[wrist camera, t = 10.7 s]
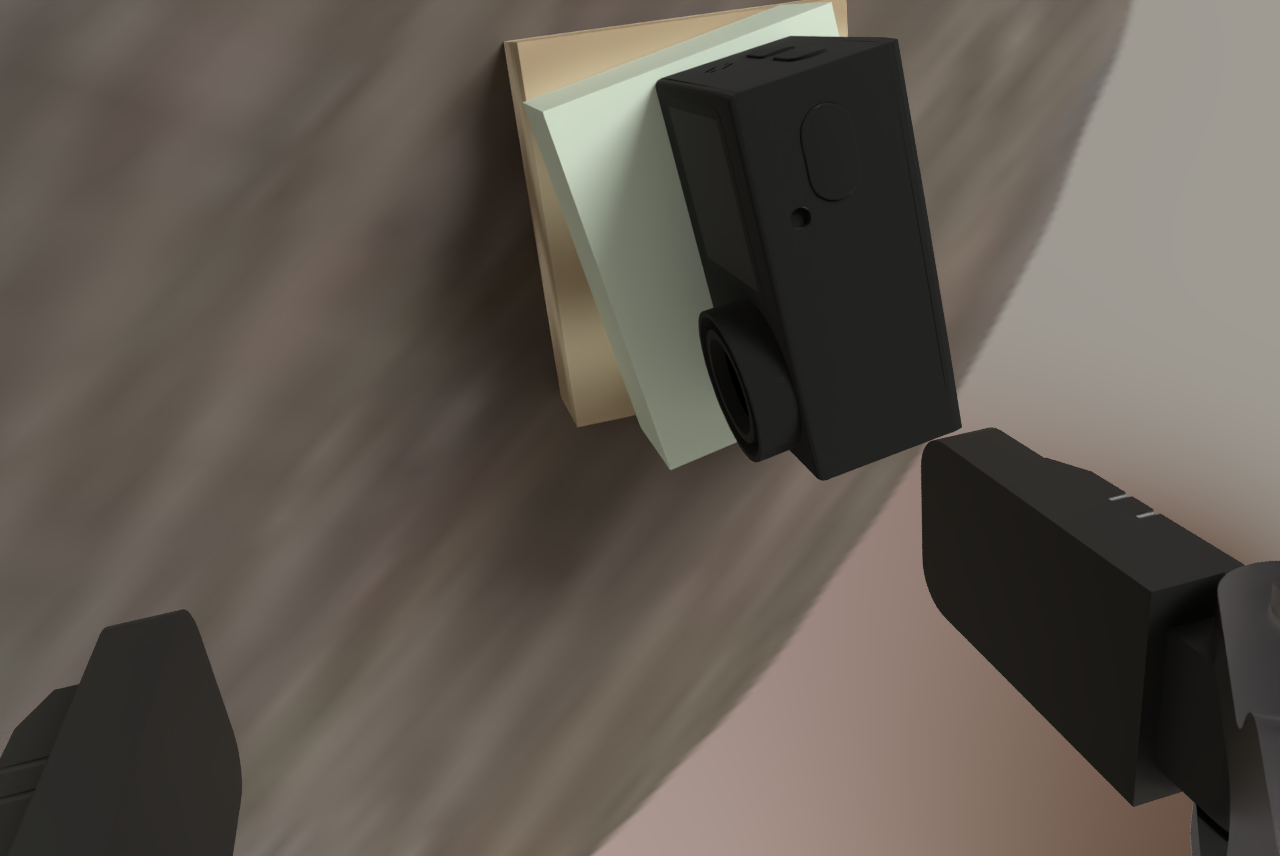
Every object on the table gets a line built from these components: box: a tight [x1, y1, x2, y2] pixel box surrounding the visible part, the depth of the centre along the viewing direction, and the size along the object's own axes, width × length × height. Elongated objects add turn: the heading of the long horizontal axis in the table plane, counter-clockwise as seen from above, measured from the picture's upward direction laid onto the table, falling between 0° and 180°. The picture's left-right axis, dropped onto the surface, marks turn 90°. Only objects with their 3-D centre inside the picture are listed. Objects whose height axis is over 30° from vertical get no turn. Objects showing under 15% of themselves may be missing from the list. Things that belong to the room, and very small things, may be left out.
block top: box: [522, 2, 839, 470], centre depth 34 cm, size 12×9×4 cm
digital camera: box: [655, 36, 962, 480], centre depth 29 cm, size 10×5×7 cm, turn 16°
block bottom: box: [504, 0, 848, 427], centre depth 37 cm, size 13×11×4 cm
